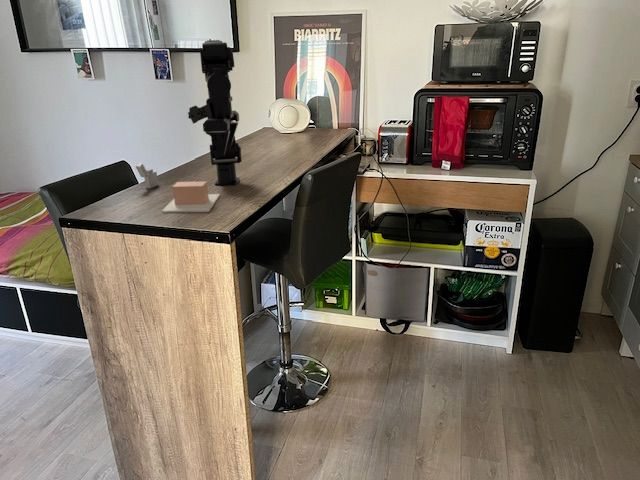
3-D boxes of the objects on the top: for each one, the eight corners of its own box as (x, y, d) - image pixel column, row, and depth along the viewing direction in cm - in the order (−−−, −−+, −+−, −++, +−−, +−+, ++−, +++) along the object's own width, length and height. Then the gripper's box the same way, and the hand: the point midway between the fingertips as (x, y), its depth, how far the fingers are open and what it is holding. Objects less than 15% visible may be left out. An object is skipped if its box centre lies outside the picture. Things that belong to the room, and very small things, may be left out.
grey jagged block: (154, 184, 154) (150, 158, 151) (158, 184, 154) (154, 159, 151) (139, 190, 148) (134, 164, 145) (144, 191, 148) (139, 164, 145)
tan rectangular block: (208, 199, 137) (206, 181, 135) (204, 204, 133) (202, 186, 131) (179, 199, 137) (177, 182, 135) (175, 204, 133) (172, 186, 131)
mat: (177, 196, 142) (177, 194, 141) (219, 195, 141) (219, 194, 141) (162, 212, 129) (162, 210, 128) (208, 211, 128) (208, 209, 128)
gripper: (197, 91, 141) (203, 146, 146) (179, 98, 123) (187, 161, 129) (237, 90, 140) (241, 145, 146) (224, 97, 123) (230, 160, 129)
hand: (225, 152), depth 138 cm, fingers open, 9 cm apart
